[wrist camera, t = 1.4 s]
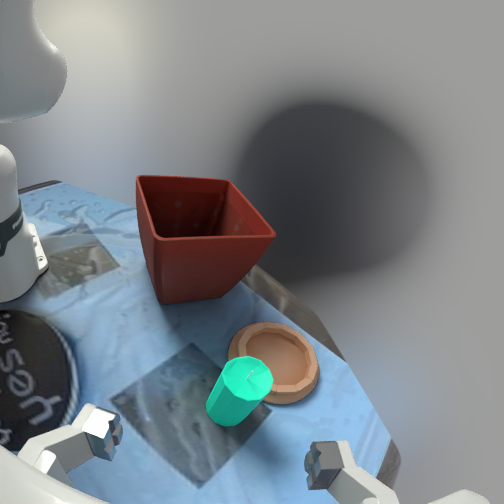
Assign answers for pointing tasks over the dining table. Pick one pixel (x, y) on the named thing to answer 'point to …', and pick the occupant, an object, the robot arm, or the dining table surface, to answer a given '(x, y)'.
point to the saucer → (279, 359)
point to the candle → (238, 390)
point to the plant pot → (197, 235)
